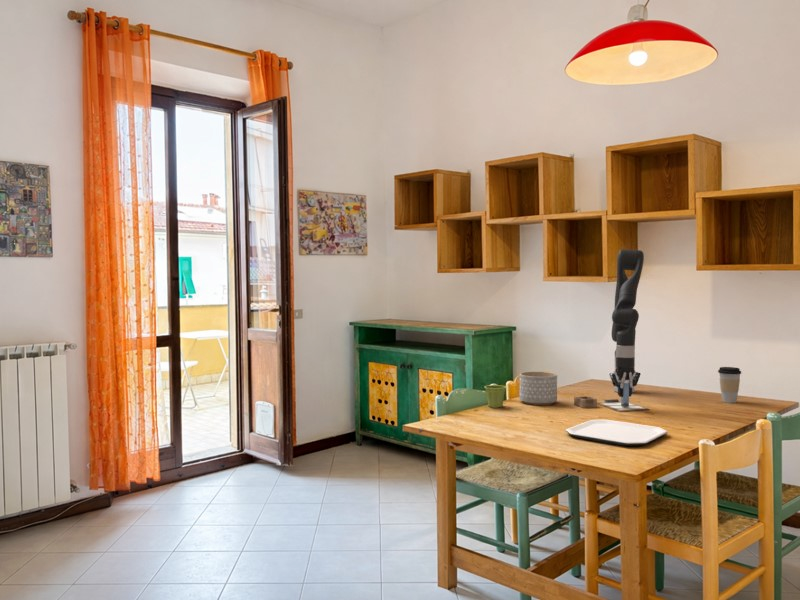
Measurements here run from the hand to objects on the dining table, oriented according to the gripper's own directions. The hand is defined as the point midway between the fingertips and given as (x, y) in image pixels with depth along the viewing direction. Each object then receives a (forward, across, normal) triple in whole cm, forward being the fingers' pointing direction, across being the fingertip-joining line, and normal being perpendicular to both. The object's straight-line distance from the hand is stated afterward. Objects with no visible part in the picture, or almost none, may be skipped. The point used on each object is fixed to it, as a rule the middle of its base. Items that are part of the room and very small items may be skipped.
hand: (624, 396), depth 277 cm
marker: (+4, 0, 0) cm, 4 cm away
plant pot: (+6, +51, -18) cm, 55 cm away
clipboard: (+5, -1, -4) cm, 7 cm away
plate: (+6, +29, +41) cm, 50 cm away
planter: (+6, +29, -23) cm, 37 cm away
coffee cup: (+6, -53, -2) cm, 53 cm away
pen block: (+5, +13, -10) cm, 17 cm away
